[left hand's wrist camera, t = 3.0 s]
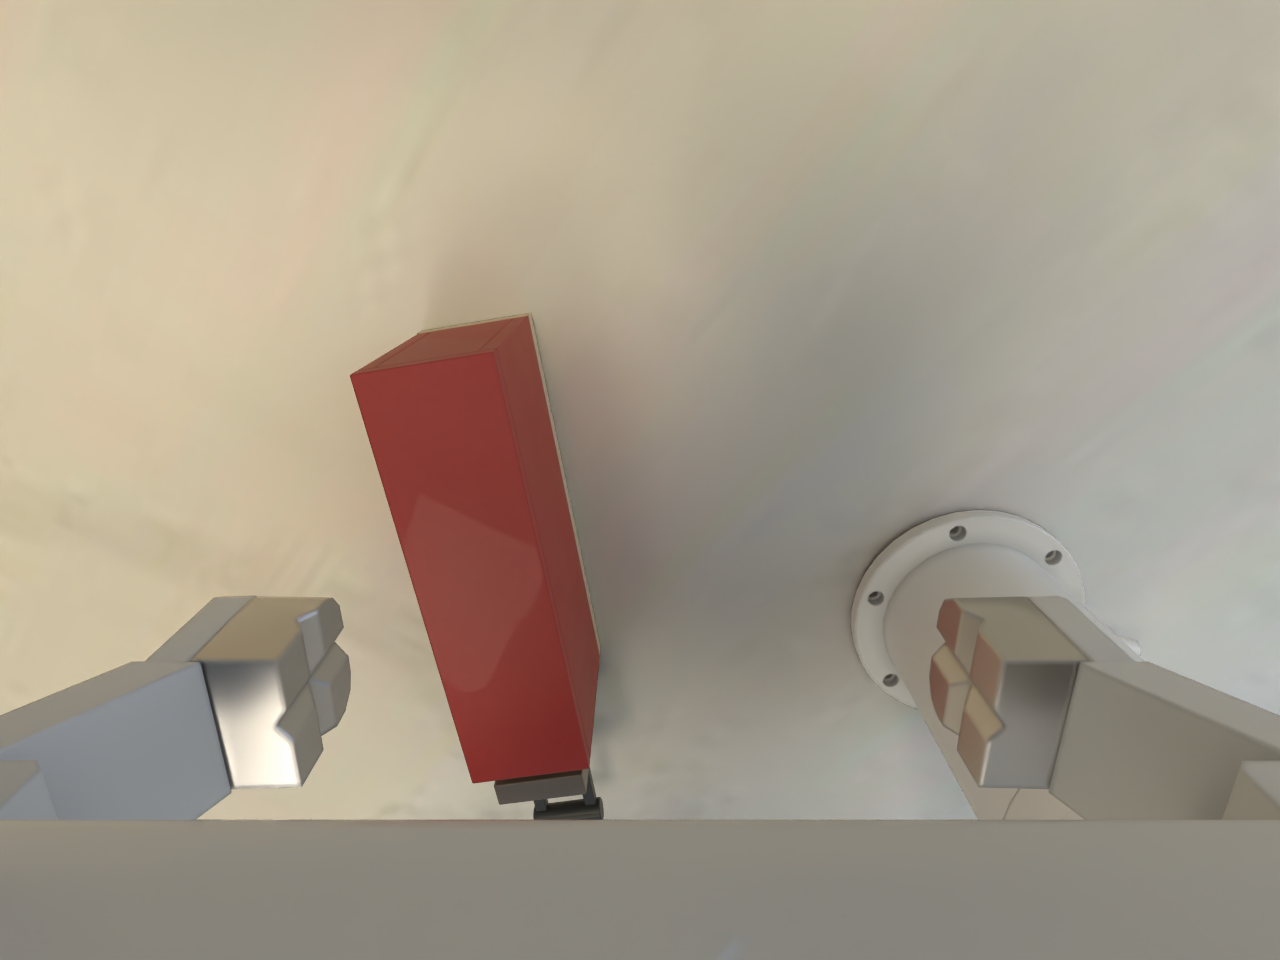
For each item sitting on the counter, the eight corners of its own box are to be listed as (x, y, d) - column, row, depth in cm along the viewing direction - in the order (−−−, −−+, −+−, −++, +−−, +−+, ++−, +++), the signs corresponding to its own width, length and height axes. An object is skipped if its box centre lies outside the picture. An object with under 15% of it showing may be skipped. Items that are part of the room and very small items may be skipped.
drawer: (612, 762, 45) (605, 876, 38) (542, 770, 46) (522, 886, 38) (530, 382, 37) (501, 430, 29) (445, 395, 37) (395, 446, 30)
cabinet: (600, 647, 43) (589, 769, 34) (508, 660, 44) (471, 784, 35) (531, 312, 37) (493, 351, 27) (422, 330, 37) (348, 374, 28)
